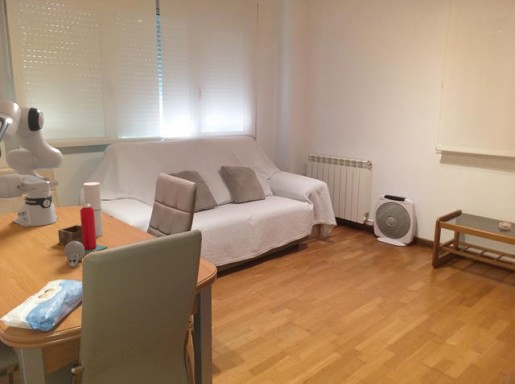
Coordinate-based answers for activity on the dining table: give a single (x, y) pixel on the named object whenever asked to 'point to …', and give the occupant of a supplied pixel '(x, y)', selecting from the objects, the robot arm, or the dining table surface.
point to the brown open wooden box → (70, 234)
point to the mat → (99, 247)
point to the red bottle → (88, 227)
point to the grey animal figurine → (74, 252)
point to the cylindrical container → (94, 204)
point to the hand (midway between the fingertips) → (52, 181)
